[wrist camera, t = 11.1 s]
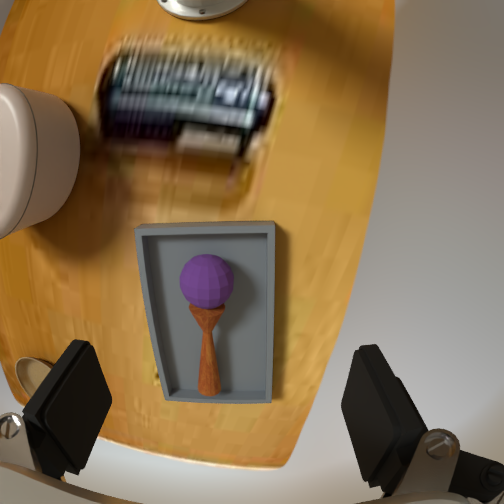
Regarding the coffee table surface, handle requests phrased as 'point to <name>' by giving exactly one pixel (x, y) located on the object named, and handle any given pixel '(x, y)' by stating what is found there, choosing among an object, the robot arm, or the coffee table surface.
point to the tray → (231, 321)
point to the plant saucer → (31, 373)
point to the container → (34, 156)
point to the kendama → (207, 309)
